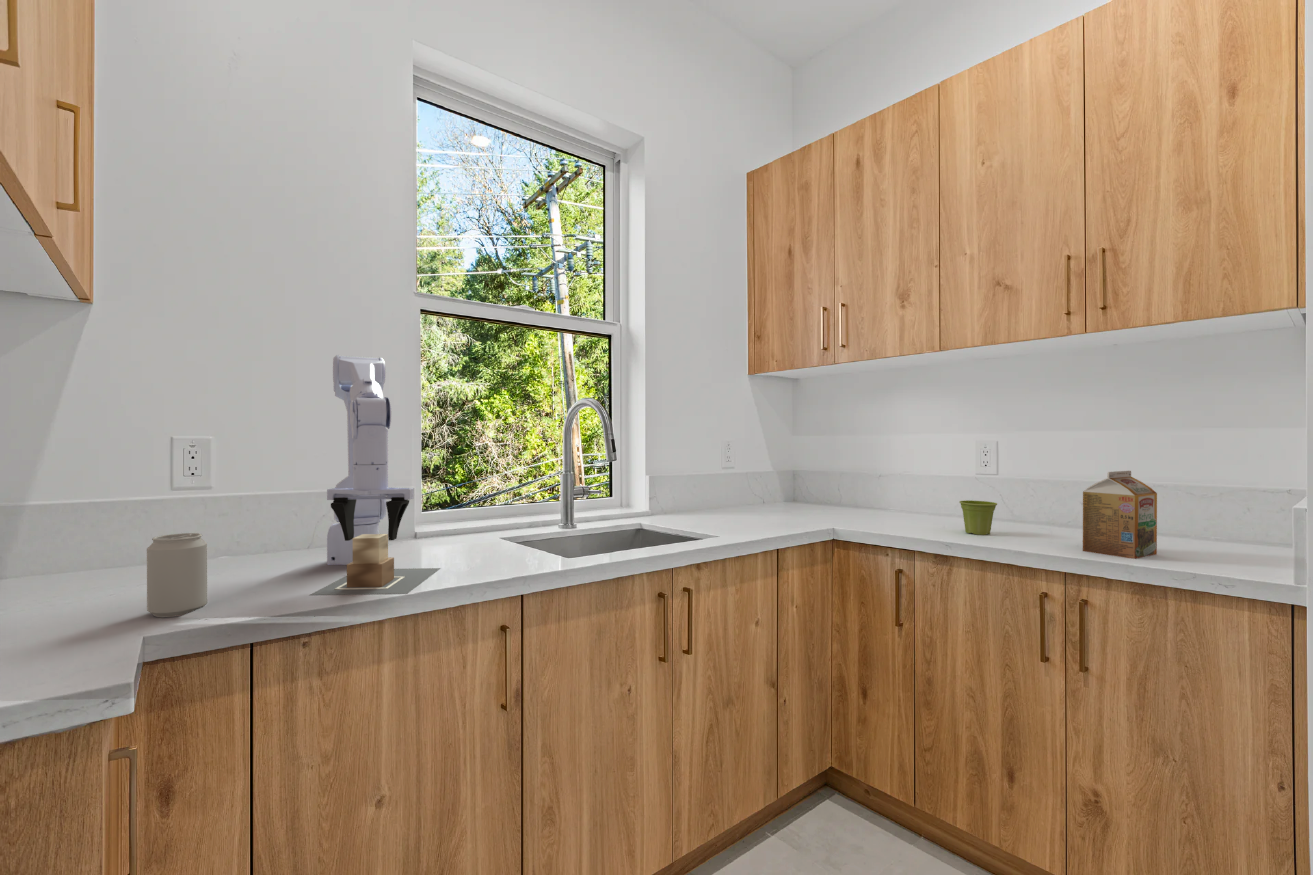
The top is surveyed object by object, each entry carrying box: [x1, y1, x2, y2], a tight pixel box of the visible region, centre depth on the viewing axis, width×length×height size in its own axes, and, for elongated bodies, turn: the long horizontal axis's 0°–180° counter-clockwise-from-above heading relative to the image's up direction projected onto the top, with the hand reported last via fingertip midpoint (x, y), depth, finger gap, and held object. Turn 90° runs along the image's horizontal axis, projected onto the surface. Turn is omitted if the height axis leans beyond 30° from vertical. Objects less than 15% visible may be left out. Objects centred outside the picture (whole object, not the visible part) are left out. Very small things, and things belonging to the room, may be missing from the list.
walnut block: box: [346, 556, 395, 587], centre depth 113 cm, size 6×6×4 cm
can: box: [146, 532, 208, 618], centre depth 98 cm, size 8×8×12 cm
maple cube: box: [353, 533, 389, 564], centre depth 113 cm, size 4×4×4 cm
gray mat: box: [309, 567, 442, 596], centre depth 115 cm, size 16×20×1 cm
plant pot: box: [958, 499, 998, 536], centre depth 174 cm, size 9×9×9 cm
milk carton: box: [1082, 470, 1158, 560], centre depth 146 cm, size 11×11×19 cm
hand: (370, 539), depth 113 cm, fingers open, 7 cm apart
